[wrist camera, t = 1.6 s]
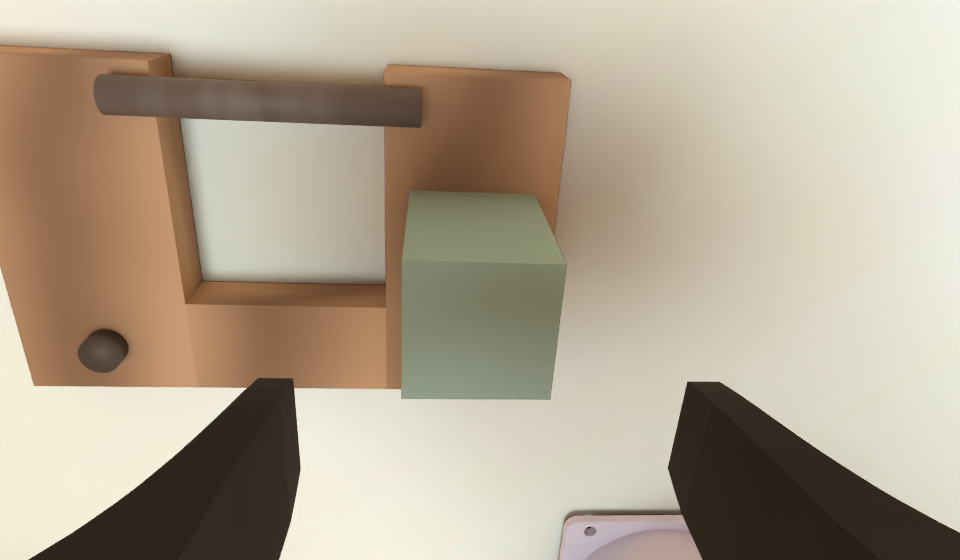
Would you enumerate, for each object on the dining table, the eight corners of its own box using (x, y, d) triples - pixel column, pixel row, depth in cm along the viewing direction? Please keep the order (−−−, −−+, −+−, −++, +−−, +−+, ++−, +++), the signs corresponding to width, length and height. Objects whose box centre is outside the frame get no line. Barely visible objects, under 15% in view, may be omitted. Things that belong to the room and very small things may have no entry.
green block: (534, 194, 19) (566, 264, 14) (524, 304, 20) (550, 399, 16) (409, 190, 18) (401, 260, 14) (408, 302, 20) (401, 398, 15)
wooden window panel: (560, 72, 19) (578, 86, 17) (530, 364, 23) (541, 408, 21) (-21, 44, 18) (-90, 55, 15) (60, 358, 22) (15, 404, 20)
